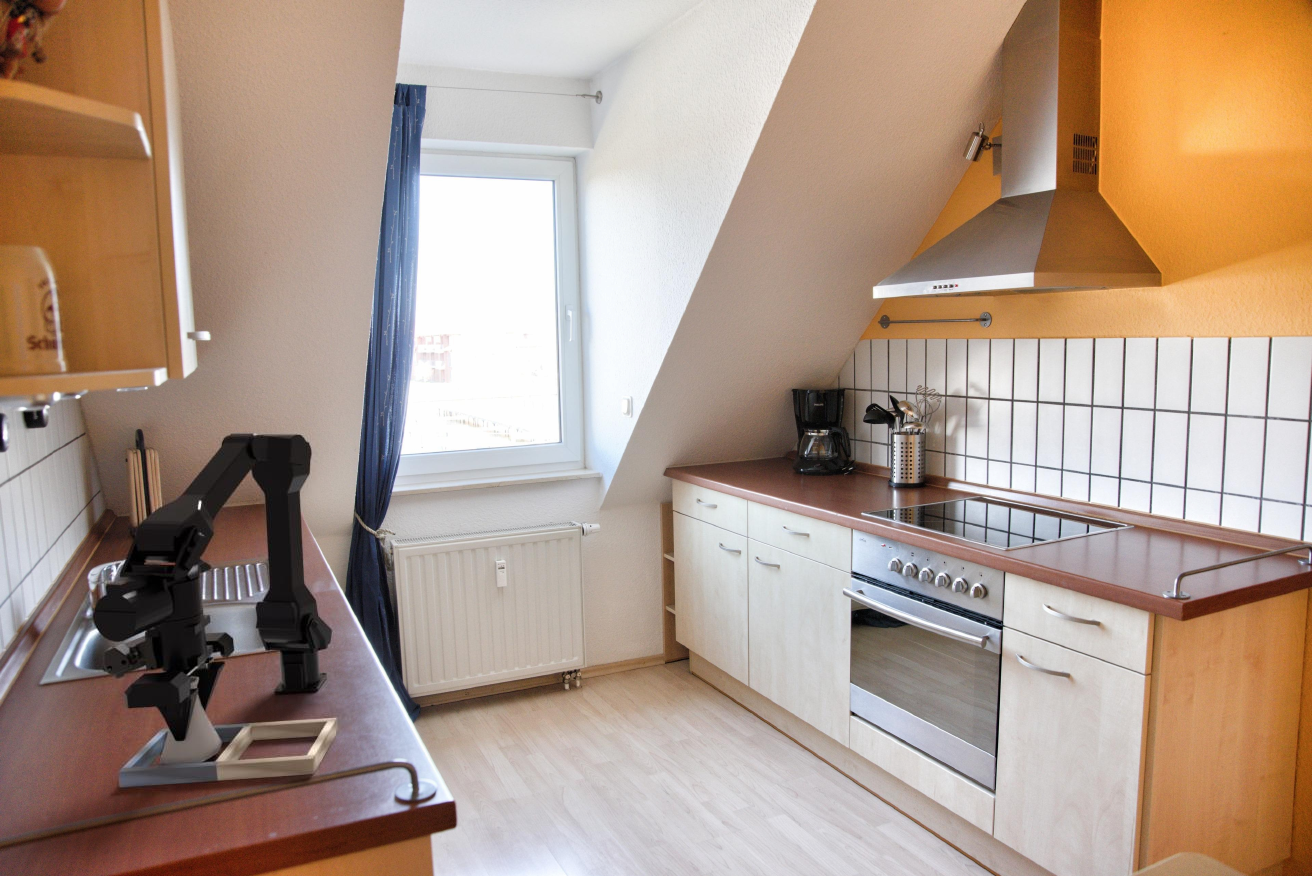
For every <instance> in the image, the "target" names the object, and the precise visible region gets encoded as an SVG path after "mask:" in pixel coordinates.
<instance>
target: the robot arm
mask: <svg viewBox="0 0 1312 876" xmlns="http://www.w3.org/2000/svg"><path fill="white" fill-rule="evenodd" d="M312 456H313V455H312V446H311V445H310V442H309V441H307V440H306V438H305V437H304V436H303V435H301V434H297V433H295V434H294V433H293V434H292V433H291V434H287V433H286V434H284V433H283V434H282V433H281V434H280V433H279V434H277V433H275V434H259V433H257V432H251V433H248V432H236V433H234V432H233V433H230V434H228V435H225V436H224V438H223V439H222V442H221V446H220V447H219V449H218V450H217V451H216V452H215V453H214V455H213V456H212V458H210V459H209V461H208V462H207V464H206V465H205V466H204V467H203V468H202V470H201V471H200V472H199V473H198V474H197V476H196V477H195V478H194V479H193V480H192V482H191V483H190V484H189V485H188V487H187V488H186V489H185V490H184V492H183V493H182V494H181V495H180V496H179V497H177V498H176V499H174V500H172V501H171V502H169V503H166V504H165V505H162V506H160V507H158V508H157V509H155V510H154V511H153V512H151V514H149V515H148V516H147V517H146V518H144V520H143V521H141V522H140V523H139V525H138V527H137V529H136V531H135V533H134V537H133V540H132V543H131V546H130V548H129V550H128V553H127V555H126V558H125V560H124V562H123V565H122V566H121V567H122V568H121V569H120V573H119V578H120V579H123V580H119V581H113V582H108V583H107V584H106V585H105V592H106V593H105V595H103V596H102V597H100V599H99V600H98V601H97V602H96V604H95V607H94V610H93V612H92V620H93V624H94V627H95V628H96V630H97V631H98V633H99V634H100V635H101V636H102V637H103V638H104V639H107V640H108V641H111V642H115V643H118V644H117V645H115V646H114V647H113V646H111V647H109V648H107V649H106V650H105V651H103V658H102V659H101V661H102V663H103V666H102V667H101V668H102V671H103V672H105V673H107V674H108V675H111V676H113V677H114V679H116V680H117V679H120V678H123V677H124V676H125V675H126V674H129V673H131V672H133V671H136V670H138V669H141V668H143V667H145V670H146V671H157V670H158V669H161V671H162V672H147V673H143V674H142V675H141V676H140V677H138V678H137V679H136V680H135V681H133V682H132V683H131V684H130V685H128V687H127V688H126V689H125V690H124V691H123V695H124V697H123V698H124V704H125V705H124V706H125V708H127V709H142V708H145V709H146V708H157V709H158V711H159V712H160V714H161V716H162V719H164V722H165V723H166V725H167V727H168V729H170V731H171V733H172V735H173V737H174V739H175V741H184V740H185V739H186V736H187V732H188V729H189V725H190V721H191V717H192V713H193V710H194V706H195V702H196V698H197V694H198V696H199V699H200V702H201V705H202V707H203V709H204V711H205V713H206V712H207V710H208V706H209V704H210V701H211V700H212V696H213V694H214V691H215V688H216V685H217V684H218V681H219V678H220V676H221V673H222V671H223V669H224V667H225V665H226V661H224V660H222V661H215V658H214V656H212V654H217V653H220V654H219V655H220V657H222V659H225V658H226V659H227V658H229V657H230V656H231V655H232V654H233V653H234V652H235V644H234V638H233V636H231V635H230V634H229V633H228V632H226V631H225V632H224V631H223V632H222V631H221V632H209V633H208V632H206V627H207V626H208V625H209V624H210V623H211V614H204V613H205V612H204V603H203V591H202V590H203V589H202V582H201V574H204V573H206V572H208V571H210V570H211V569H212V565H211V564H209V563H208V562H206V561H204V560H203V559H201V557H203V555H204V554H205V551H206V550H207V547H209V544H210V542H211V540H212V539H213V537H214V535H215V530H214V528H215V527H214V520H215V518H216V517H217V515H218V514H219V512H220V511H221V510H222V508H224V506H225V504H226V503H227V502H228V501H229V499H230V498H231V497H232V495H233V494H234V492H235V491H236V490H237V489H238V487H239V486H240V485H241V484H242V482H243V480H244V479H245V478H246V477H247V475H248V474H249V473H250V472H251V476H252V478H253V480H254V481H255V483H256V485H257V486H258V487H259V488H260V490H261V492H263V495H264V509H265V510H264V511H265V527H266V528H265V529H266V546H267V547H266V549H267V567H268V569H267V570H268V586H269V587H268V589H267V592H266V593H265V595H264V597H263V598H262V600H261V601H257V602H256V604H255V613H256V624H255V629H257V630H258V635H259V637H260V639H261V641H262V642H261V643H262V644H263V646H264V647H263V648H264V649H265V651H266V652H267V651H268V652H270V651H274V652H275V651H276V652H278V657H279V658H278V659H279V670H280V682H279V683H277V685H276V687H275V688H274V689H273V693H274V694H288V693H289V694H290V693H293V694H294V693H306V692H308V693H309V692H316V691H319V689H320V687H321V686H322V684H323V683H324V681H325V680H326V678H327V677H328V673H327V672H321V670H320V669H321V668H320V667H321V665H320V655H319V654H320V653H319V652H320V651H323V650H326V649H328V648H329V645H330V644H331V641H332V634H333V629H332V628H331V627H330V626H329V625H328V624H327V623H326V621H324V620H323V619H322V618H321V617H320V616H319V611H318V610H319V609H318V605H317V604H318V603H317V600H316V598H315V597H314V595H313V594H312V592H311V591H310V589H309V588H308V586H307V585H306V584H305V583H306V582H305V571H304V553H303V552H304V550H303V534H302V533H303V530H302V512H301V509H302V508H301V489H302V488H303V487H304V485H305V483H306V481H307V479H308V478H309V476H310V474H311V459H312ZM146 562H148V563H147V564H146ZM153 563H155V564H153ZM156 563H158V564H156ZM159 563H161V564H159ZM162 563H164V564H162ZM165 563H166V564H165ZM142 633H144V635H143V636H140V637H137V638H135V639H133V640H130V641H128V642H125V643H123V642H124V641H126V640H128V639H131V638H133V637H135V636H138V635H139V634H142ZM120 642H121V643H120ZM190 676H192V677H199V681H198V684H197V688H193V689H191V680H190ZM206 714H207V713H206Z"/></svg>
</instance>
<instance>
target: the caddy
mask: <svg viewBox="0 0 1312 876" xmlns="http://www.w3.org/2000/svg"><path fill="white" fill-rule="evenodd" d="M212 726H213V727H214V729H215V731H216V732H217V734H218V736H219V738H220V739H221V741H222V743H229V744H228V745H227V747H226V748H225V750H224V751H223V752H222V753H221V754H220V755H219V757H218V758H217V759H216V760H215V761H206V762H205V761H204V762H200V763H189V764H174V765H165V764H159V765H151V764H152V763H153V762H154V761H155V760H156V759H157V758H159V756H160V755H162V752H163V748H164V745H165V741H166V738H167V735H168V731H169V728H161V729H160V730H159V732H157V734H155V736H153V738H151V739H150V740H149V741H148V742H147V743H146V744H145V745H144V746H143V747H142V748H141V749H140V750H139V751H138V752H136V754H135V755H134V756H133V757H131V758H130V760H129V761H127V763H125V765H124V766H123V767H121V769H119V770H118V772H117V775H118V785H119V788H131V787H143V786H144V787H145V786H147V787H148V786H158V785H159V786H160V785H161V786H162V785H173V784H174V785H175V784H187V783H188V784H191V783H204V782H216V781H229V780H230V781H231V780H246V779H261V778H275V777H288V776H304V775H314V774H315V773H316V770H317V769H318V768H319V765H320V764H321V762H322V760H323V759H324V756H325V755H326V754H327V751H328V750H329V748H330V747H331V745H332V743H333V741H334V740H335V738H336V736H337V734H338V732H339V729H338V728H339V726H338V717H328V718H325V717H324V718H312V719H296V720H280V721H265V722H263V721H262V722H249V723H247V722H246V723H234V724H219V725H212ZM306 737H307V738H308V737H317V738H316V740H314V743H313V745H312V746H311V747H310V749H309V750H308V752H307V754H306V755H296V756H295V755H294V756H280V757H278V756H277V757H266V758H265V757H264V758H251V759H249V758H248V759H240V758H241V756H242V755H243V753H244V752H245V751H246V750H247V748H249V746H250V745H251V743H252V742H253V741H259V740H260V741H263V740H275V739H276V740H278V739H291V738H294V739H295V738H306Z"/></svg>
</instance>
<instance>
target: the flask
mask: <svg viewBox="0 0 1312 876" xmlns="http://www.w3.org/2000/svg"><path fill="white" fill-rule="evenodd" d="M190 680H191V689H193V688H197V684H198V681H199V677H192V676H190ZM213 726H214V725H213V724H212V722H211V719H210V718H209V716H208V715H207V713H205V711H204V709H203V707H202V705H201V702H200V699H199V696H198V694H197V698H196V702H195V706H194V710H193V713H192V717H191V721H190V725H189V729H188V732H187V736H186V739H185V740H184V741H175V739H174V737H173V735H172V733H171V731H170V729H169V728H168V729H169V731H168V735H167V738H166V741H165V745H164V748H163V751H162V753H161V754H160V755H161V756H160V759H159V763H158V764H159V765H174V764H189V763H204V762H205V761H207V760H208V759H210V758H212V757H213V756H216V755H217V754H218V753H220V751H221V748H222V744H223V742H222V741H221V739H220V738H219V736H218V734H217V732H216V731H215V729H214V727H213Z"/></svg>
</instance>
